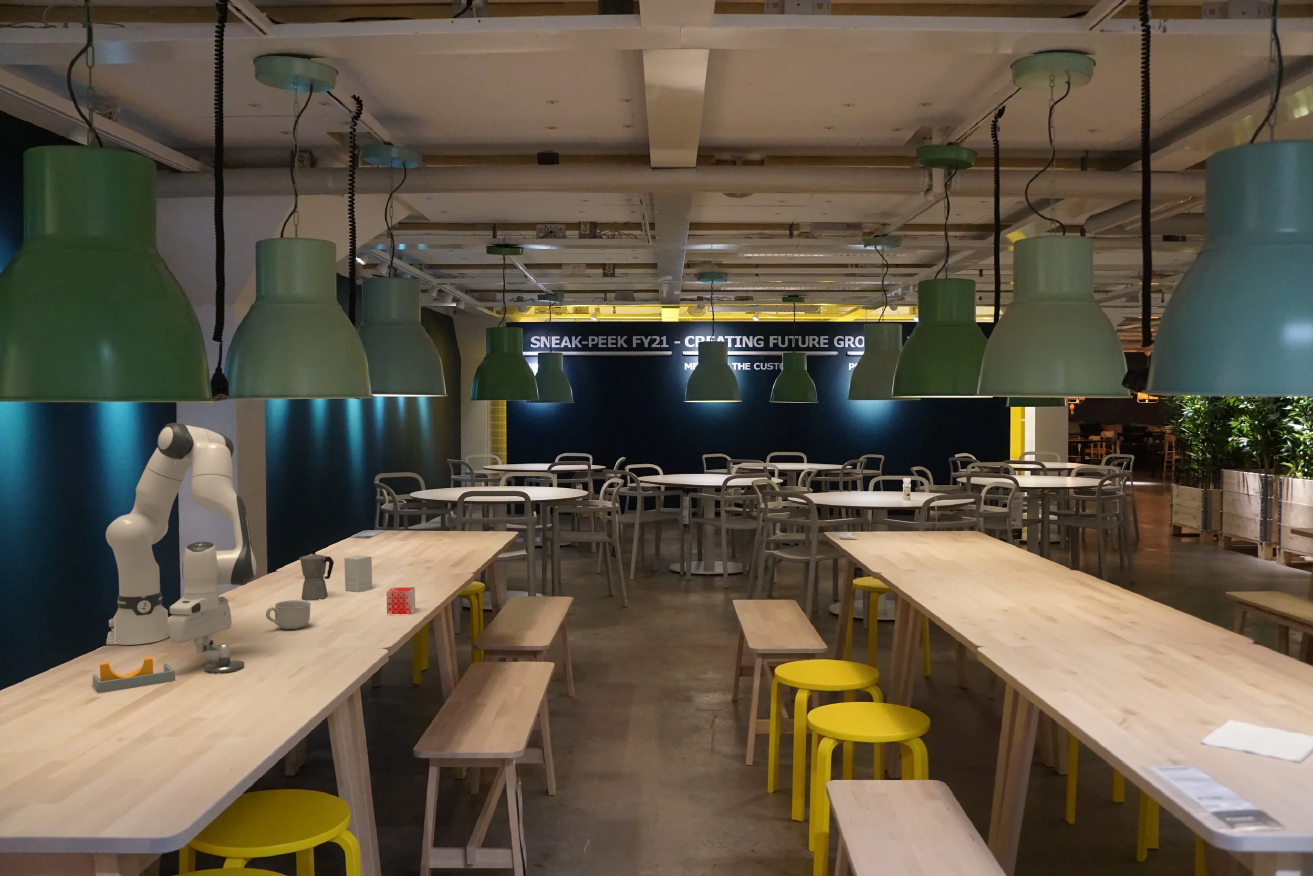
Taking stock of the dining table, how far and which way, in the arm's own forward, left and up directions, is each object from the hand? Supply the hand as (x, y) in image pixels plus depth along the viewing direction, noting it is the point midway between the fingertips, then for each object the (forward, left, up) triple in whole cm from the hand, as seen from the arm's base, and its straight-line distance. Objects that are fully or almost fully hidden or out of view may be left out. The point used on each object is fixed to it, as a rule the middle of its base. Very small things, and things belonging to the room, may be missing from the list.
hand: (202, 652), depth 281 cm
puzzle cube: (-30, +71, -4) cm, 77 cm away
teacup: (-30, +33, -4) cm, 45 cm away
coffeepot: (-73, +57, -4) cm, 93 cm away
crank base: (+8, +4, -4) cm, 9 cm away
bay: (+7, -18, -4) cm, 20 cm away
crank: (+3, +3, -2) cm, 5 cm away
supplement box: (-79, +75, -4) cm, 109 cm away
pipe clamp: (+7, -20, -4) cm, 22 cm away
